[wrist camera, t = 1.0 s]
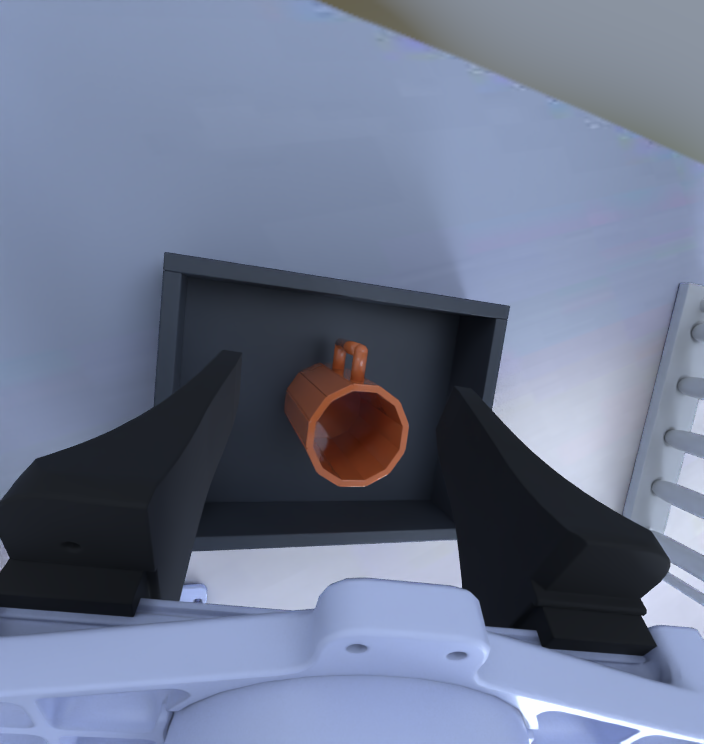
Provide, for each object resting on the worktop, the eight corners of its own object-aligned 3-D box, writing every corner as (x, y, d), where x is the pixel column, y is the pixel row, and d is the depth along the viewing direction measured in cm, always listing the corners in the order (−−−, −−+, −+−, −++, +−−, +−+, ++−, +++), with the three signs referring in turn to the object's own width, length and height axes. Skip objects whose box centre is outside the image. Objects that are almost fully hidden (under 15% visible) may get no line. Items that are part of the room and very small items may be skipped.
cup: (357, 442, 28) (400, 487, 21) (280, 439, 26) (301, 487, 20) (371, 339, 27) (420, 352, 20) (292, 330, 25) (318, 341, 19)
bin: (435, 507, 31) (469, 539, 27) (155, 511, 25) (143, 554, 21) (468, 304, 29) (510, 306, 25) (174, 260, 23) (164, 251, 19)
